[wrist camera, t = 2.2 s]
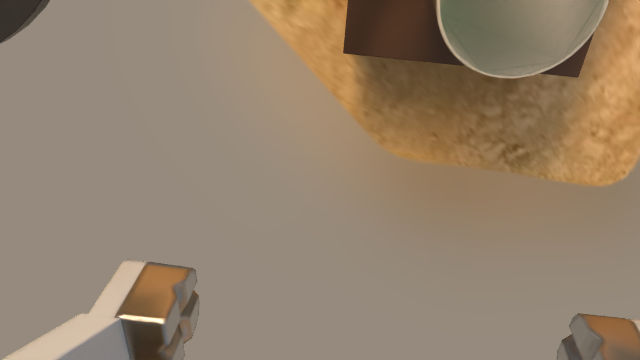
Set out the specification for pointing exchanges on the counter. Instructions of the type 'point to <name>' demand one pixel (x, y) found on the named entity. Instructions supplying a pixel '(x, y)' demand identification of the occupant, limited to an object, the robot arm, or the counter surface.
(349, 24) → the wooden footed stand
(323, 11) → the counter surface
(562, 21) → the cup
